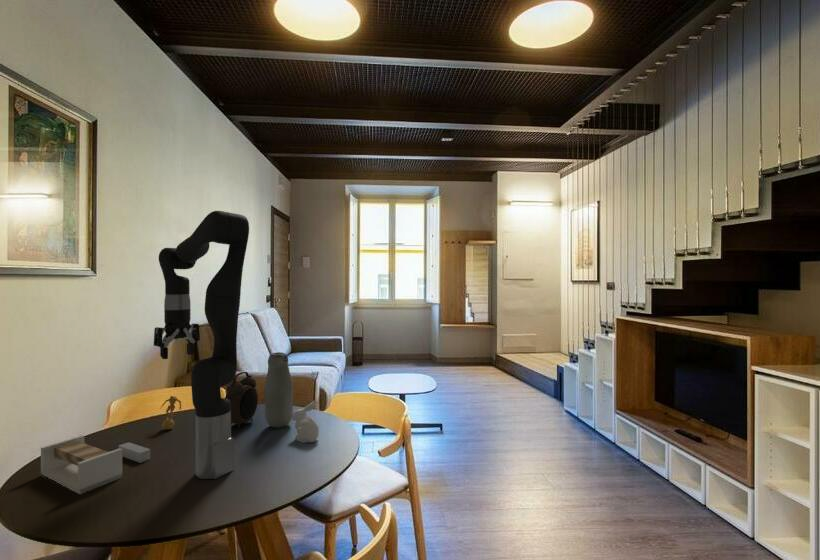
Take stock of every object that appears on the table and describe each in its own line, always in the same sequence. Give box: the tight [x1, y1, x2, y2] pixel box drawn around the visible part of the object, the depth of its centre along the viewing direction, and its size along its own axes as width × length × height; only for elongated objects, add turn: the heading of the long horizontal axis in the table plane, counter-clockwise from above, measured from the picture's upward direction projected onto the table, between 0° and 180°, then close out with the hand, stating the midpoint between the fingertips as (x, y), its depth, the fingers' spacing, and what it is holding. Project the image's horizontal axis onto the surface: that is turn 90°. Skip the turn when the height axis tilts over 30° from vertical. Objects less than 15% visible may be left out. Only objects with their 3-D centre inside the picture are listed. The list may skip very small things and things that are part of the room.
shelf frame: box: [40, 434, 123, 495], centre depth 113 cm, size 22×10×8 cm, turn 63°
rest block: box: [117, 442, 151, 464], centre depth 126 cm, size 12×3×3 cm, turn 63°
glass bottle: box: [263, 352, 294, 429], centre depth 152 cm, size 10×10×28 cm
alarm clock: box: [224, 371, 259, 430], centre depth 154 cm, size 15×7×20 cm, turn 168°
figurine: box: [160, 395, 182, 431], centre depth 150 cm, size 8×6×12 cm
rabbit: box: [291, 400, 320, 444], centre depth 140 cm, size 12×9×12 cm
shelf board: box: [54, 441, 109, 466], centre depth 114 cm, size 18×6×2 cm, turn 63°
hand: (177, 356), depth 133 cm, fingers open, 8 cm apart
